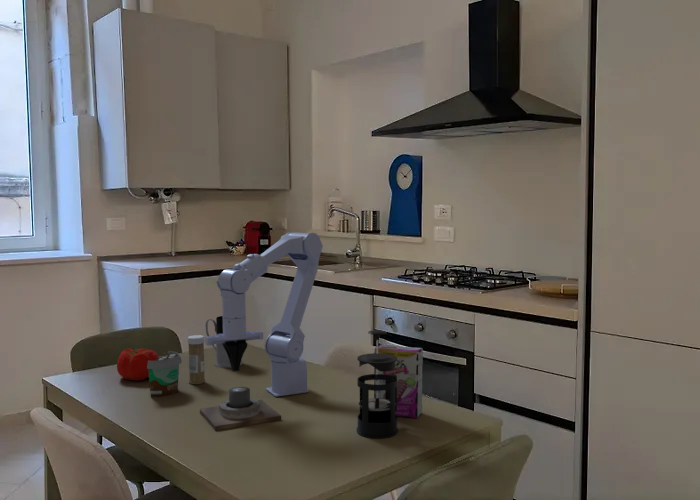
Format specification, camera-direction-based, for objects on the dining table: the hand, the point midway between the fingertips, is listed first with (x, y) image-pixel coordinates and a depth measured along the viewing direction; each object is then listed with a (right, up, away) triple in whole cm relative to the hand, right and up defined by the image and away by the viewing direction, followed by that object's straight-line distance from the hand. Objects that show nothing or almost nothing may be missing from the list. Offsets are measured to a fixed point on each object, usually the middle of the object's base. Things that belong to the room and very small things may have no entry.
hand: (235, 370), depth 166 cm
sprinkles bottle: (-15, -8, +22) cm, 28 cm away
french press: (+35, -11, -17) cm, 41 cm away
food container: (-20, -9, +13) cm, 25 cm away
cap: (+2, -9, -7) cm, 12 cm away
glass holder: (-12, -6, +45) cm, 47 cm away
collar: (+2, -10, -7) cm, 12 cm away
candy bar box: (+41, -10, -5) cm, 42 cm away
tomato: (-33, -8, +28) cm, 44 cm away
